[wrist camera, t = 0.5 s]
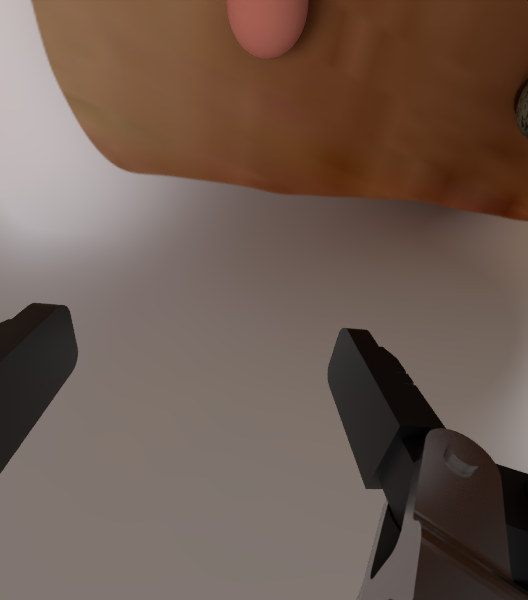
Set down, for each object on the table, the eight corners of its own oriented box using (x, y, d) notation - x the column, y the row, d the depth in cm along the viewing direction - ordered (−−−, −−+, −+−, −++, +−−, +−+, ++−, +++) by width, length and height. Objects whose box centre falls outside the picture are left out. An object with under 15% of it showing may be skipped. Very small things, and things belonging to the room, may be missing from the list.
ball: (225, -36, 21) (213, -66, 16) (304, -47, 20) (313, -81, 16) (236, 64, 24) (229, 61, 20) (304, 56, 24) (312, 51, 19)
